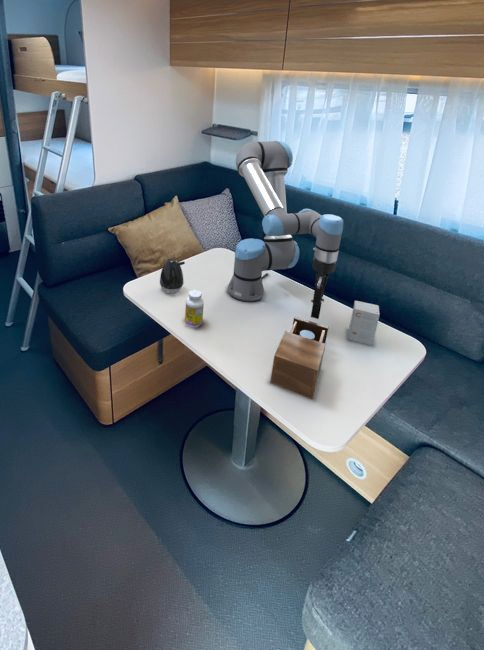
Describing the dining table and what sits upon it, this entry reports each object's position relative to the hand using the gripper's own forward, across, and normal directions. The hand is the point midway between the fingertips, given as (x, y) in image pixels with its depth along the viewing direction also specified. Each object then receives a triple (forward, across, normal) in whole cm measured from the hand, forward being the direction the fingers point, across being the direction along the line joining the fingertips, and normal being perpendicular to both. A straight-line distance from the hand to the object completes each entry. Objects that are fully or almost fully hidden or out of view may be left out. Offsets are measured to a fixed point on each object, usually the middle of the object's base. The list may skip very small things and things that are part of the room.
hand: (314, 317), depth 149 cm
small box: (+6, -5, +16) cm, 18 cm away
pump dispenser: (+6, +2, -58) cm, 58 cm away
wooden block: (+6, +27, 0) cm, 28 cm away
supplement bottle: (+6, +18, -40) cm, 44 cm away
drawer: (+5, +13, 0) cm, 14 cm away
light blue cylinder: (+4, +15, 0) cm, 15 cm away
